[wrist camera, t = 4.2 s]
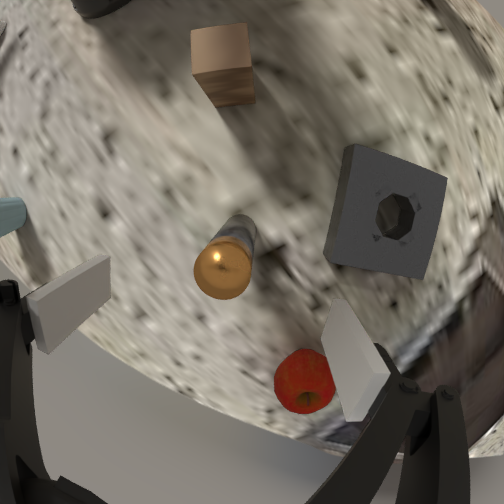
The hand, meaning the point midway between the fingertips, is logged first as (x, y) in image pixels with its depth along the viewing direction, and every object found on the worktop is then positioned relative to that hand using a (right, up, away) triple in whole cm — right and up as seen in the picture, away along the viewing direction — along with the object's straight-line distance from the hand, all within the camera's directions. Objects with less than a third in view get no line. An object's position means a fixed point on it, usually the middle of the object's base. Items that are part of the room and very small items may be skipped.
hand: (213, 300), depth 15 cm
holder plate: (+19, +8, +18) cm, 28 cm away
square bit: (0, +23, +15) cm, 27 cm away
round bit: (+1, +5, +20) cm, 20 cm away
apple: (+9, -13, +24) cm, 29 cm away
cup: (-40, +10, +20) cm, 46 cm away
